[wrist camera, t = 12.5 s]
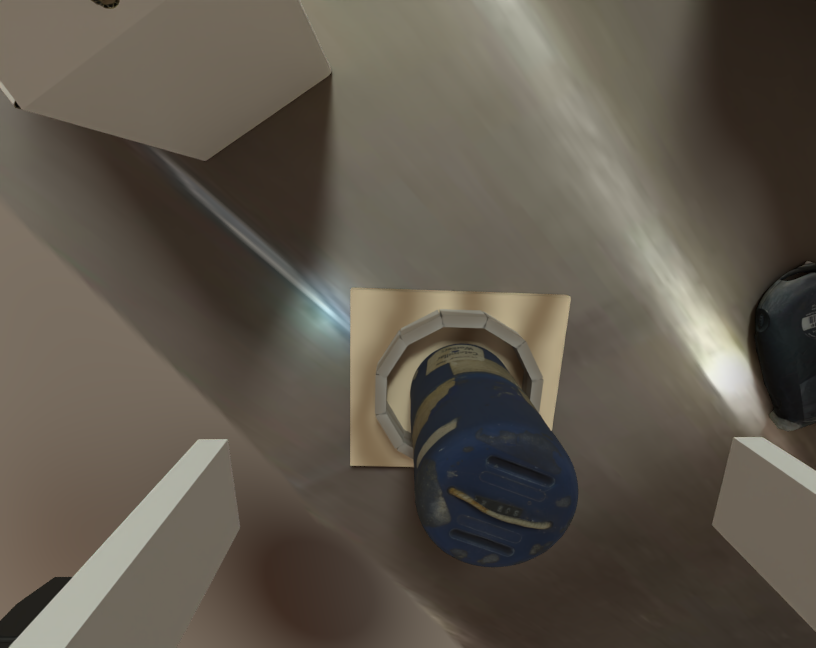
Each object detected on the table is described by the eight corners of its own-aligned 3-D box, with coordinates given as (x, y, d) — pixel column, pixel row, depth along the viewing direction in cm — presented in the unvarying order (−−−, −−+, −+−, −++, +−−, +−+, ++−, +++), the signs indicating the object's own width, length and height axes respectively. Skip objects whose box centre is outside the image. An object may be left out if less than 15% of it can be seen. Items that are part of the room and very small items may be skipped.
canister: (465, 447, 40) (514, 621, 23) (388, 395, 39) (380, 541, 21) (528, 375, 39) (633, 506, 21) (450, 318, 37) (495, 409, 20)
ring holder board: (565, 294, 38) (583, 302, 34) (541, 462, 42) (555, 485, 39) (352, 287, 37) (347, 295, 34) (351, 458, 42) (347, 481, 38)
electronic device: (839, 378, 43) (847, 247, 37) (894, 411, 38) (912, 266, 32) (742, 402, 44) (735, 281, 39) (782, 436, 39) (781, 303, 34)
